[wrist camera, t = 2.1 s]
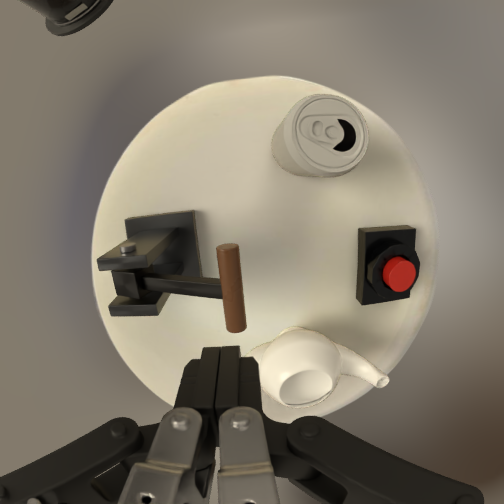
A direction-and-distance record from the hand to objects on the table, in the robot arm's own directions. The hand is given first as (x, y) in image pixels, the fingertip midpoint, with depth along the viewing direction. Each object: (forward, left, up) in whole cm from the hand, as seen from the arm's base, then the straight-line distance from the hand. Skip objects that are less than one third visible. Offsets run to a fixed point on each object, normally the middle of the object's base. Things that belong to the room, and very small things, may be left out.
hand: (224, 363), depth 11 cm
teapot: (+14, +6, -22) cm, 26 cm away
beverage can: (-10, +8, -22) cm, 25 cm away
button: (+4, +18, -18) cm, 25 cm away
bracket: (0, -8, -21) cm, 23 cm away
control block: (+4, +18, -21) cm, 28 cm away
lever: (0, -4, -11) cm, 12 cm away
